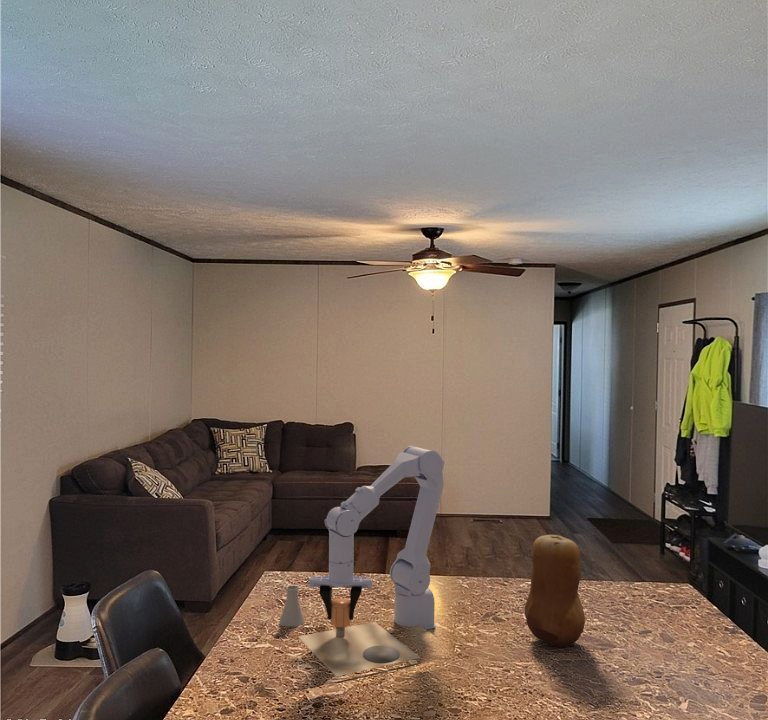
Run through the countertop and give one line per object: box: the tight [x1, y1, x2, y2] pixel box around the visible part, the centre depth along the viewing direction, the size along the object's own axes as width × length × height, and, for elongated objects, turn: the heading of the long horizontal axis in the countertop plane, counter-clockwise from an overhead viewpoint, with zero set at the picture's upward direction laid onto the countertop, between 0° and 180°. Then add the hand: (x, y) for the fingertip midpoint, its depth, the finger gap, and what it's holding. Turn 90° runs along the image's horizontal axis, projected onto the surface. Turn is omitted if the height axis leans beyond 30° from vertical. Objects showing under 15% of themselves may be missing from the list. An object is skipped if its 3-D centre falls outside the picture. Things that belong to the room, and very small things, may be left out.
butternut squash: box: [524, 534, 586, 649], centre depth 167 cm, size 14×13×25 cm
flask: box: [279, 584, 306, 628], centre depth 174 cm, size 7×7×10 cm
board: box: [297, 621, 421, 685], centre depth 160 cm, size 20×22×6 cm
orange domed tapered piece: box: [330, 598, 351, 628], centre depth 166 cm, size 4×4×5 cm
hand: (340, 618), depth 166 cm, fingers closed on orange domed tapered piece, 4 cm apart
